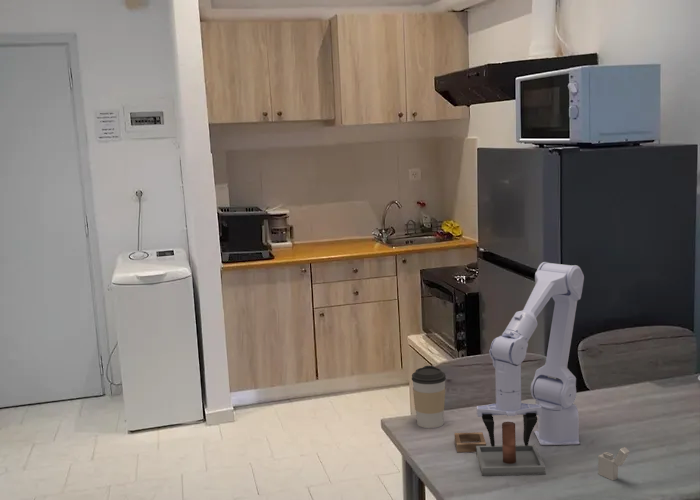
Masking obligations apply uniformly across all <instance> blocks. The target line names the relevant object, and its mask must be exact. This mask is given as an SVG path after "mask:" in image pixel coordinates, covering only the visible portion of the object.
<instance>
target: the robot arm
mask: <svg viewBox="0 0 700 500" xmlns="http://www.w3.org/2000/svg"><path fill="white" fill-rule="evenodd" d="M584 281H585V276H584V272H583V271H582V268H581V267H580V266H579V265H576V264H574V265H572V264H571V265H570V264H561V263H552V262H548V261H543V262H541V263H539V265H538V267H537V270H536V271H535V274H534V282H535V285H534V287H533V289H532V291H531V293H530V295H529V297H528V299H527V300H526V303H525V305H524V307H523V309H522V310H519V311H518V310H517V311H516V312H515V313H514V314H513V316H512V318H511V319H510V321H509V323H508V325H507V326H506V327H505V330H504V331H503V332H502V333H501V335H499V336H497V337H495V338H493V340H492V342H491V344H490V348H489V351H488V352H489V357H490V359H491V360H492V366H493V368H494V370H495V374H494V375H495V403H491V404H484V405H476V416H477V417H478V418H481V419H482V422H483V423H484V426H485V428H486V429H487V430H486V431H487V432H488V437H489V441H490V445H491V446H492V447H495V443H496V441H495V420H494V416H507V417H515V416H517V415H518V416H520V415H522V418H523V445H525V446H528V445H529V443H530V438H531V435H532V432H533V430H534V428H535V427H536V425H537V423H538V430H534V434H535V437H536V438H537V440H538V442H539V445H541V446H556V445H557V446H560V445H561V446H564V445H566V446H568V445H580V435H579V434H580V419H579V409H578V407H577V405H576V404H575V403H574V402H575V401H576V399H577V387H576V386H577V378H576V376H575V375H574V374H573V373H572V371H570V369H569V368H568V362H569V358H570V357H569V356H570V350H571V345H572V339H573V332H574V324H575V318H576V311H577V304H578V301H579V300H581V298H582V293H583V288H584ZM551 298H552V299H553V301H554V306H553V307H554V308H553V312H552V313H553V314H552V318H551V320H552V321H551V325H550V332H549V339H548V344H547V345H548V347H547V352H546V359H545V364H544V365H542V366H541V367H539V368H537V369H536V370H535V373H534V377H533V380H532V381H531V383H530V394H531V397H532V398H533V400H535V404H534V403H523V402H522V365H521V364H522V363H523V362H524V360H525V359H526V357H527V350H528V346H529V340H530V338H532V335H534V332H535V331H536V329H537V327H538V325H539V324H538V321H537V318H538V316H539V315H540V314H541V312H542V311H543V309H544V308H545V306H546V305H547V304H548V302H549V301H550V299H551Z"/></svg>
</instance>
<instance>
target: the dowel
mask: <svg viewBox="0 0 700 500" xmlns="http://www.w3.org/2000/svg"><path fill="white" fill-rule="evenodd" d="M501 430H502V431H501V435H502V437H501V438H502V440H501V442H502V444H501V445H502V447H503V462H504V463H507V464H513V463H515V462H516V445H517V443H516V441H517V440H516V438H517V437H516V423H515V422H513V421H503V422H502V423H501Z"/></svg>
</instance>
